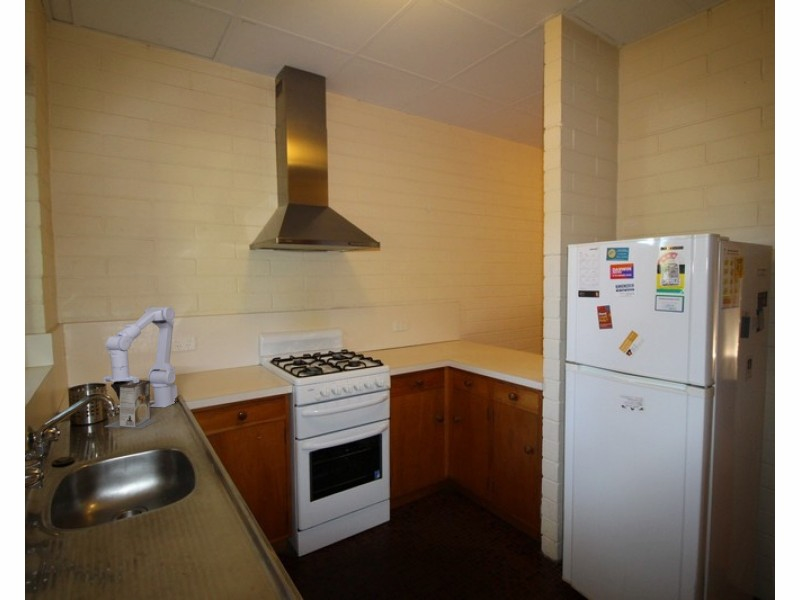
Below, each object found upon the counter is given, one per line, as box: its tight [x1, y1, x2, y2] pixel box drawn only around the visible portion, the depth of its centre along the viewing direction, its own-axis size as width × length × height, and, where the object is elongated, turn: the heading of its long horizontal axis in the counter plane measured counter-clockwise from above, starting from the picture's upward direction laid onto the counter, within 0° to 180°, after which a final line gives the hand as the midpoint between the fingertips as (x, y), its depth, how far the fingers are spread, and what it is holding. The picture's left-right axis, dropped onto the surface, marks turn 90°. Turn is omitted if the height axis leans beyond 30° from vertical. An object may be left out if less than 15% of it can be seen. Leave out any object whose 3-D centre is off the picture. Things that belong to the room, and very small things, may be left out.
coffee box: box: [119, 379, 151, 427], centre depth 162 cm, size 9×6×16 cm
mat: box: [104, 418, 159, 430], centre depth 163 cm, size 9×16×1 cm, turn 80°
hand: (122, 400), depth 163 cm, fingers closed
